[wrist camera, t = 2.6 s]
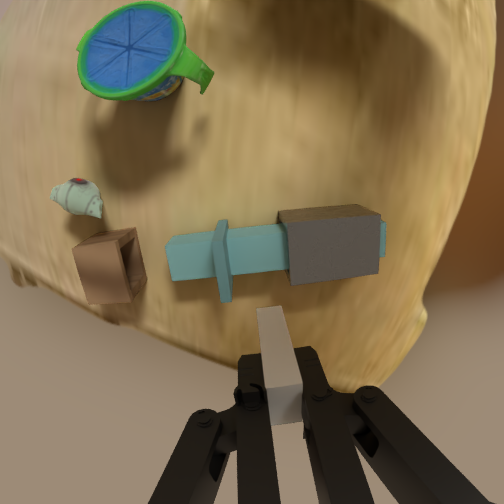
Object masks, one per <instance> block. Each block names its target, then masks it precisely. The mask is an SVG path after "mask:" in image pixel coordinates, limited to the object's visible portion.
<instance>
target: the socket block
mask: <svg viewBox="0 0 504 504" xmlns="http://www.w3.org/2000/svg"><path fill="white" fill-rule="evenodd" d="M72 252H73V256H74V259H75V263H76V266H77V270H78V273H79V277H80V280H81V283H82V286H83V289H84V292H85V295H86V298H87V301H88V304H89V305H90V304H111V303H129V302H132V300H133V299H134V297H135V296H136V294H137V293H138V292H139V290H140V289H141V287H142V286H143V284H144V283H145V282H146V280H147V276H146V272H145V268H144V263H143V259H142V255H141V250H140V246H139V241H138V236H137V231H136V227H134V228H127V229H121V230H115V231H109V232H103V233H97V234H95V235H93V236H92V237H90V238H88V239H87V240H85V241H83V242H82V243H80V244H78V245H77V246H75V247H74V248H72Z"/></svg>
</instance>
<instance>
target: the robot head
mask: <svg viewBox="0 0 504 504" xmlns="http://www.w3.org/2000/svg"><path fill="white" fill-rule="evenodd" d="M50 199H52V200H53V201H55V202H57V203H58V204H59V205H61V206H62V207H63V209H64V210H66V211H68V212H70V213H72V214H75V215H90V216H94V217H97V218H101V214H102V204H103V201H102V200H101V199H100V192H99V189H98V188H97V186H96V185H95V184H94V183H92V182H90V181H88V180H86V179H81V178H73V179H71V180H69V181H67V182H66V183H64V184H62V185H57V186H56V187H54V188H53V189H52V192H51V195H50Z"/></svg>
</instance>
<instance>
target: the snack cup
mask: <svg viewBox="0 0 504 504" xmlns="http://www.w3.org/2000/svg"><path fill="white" fill-rule="evenodd" d="M76 50H77V51H79V56H78V63H77V69H78V75H79V78H80V80H81V84H82V86H83V87H84V89H86V90H88V91H90V92H91V93H92V94H94V95H96V96H98V97H100V98H103V99H107V100H123V101H127V100H138V101H155V100H160V99H162V98H164V97H166V96H168V95H169V94H171V93H172V92H173V91H174V90H175V89H176V88H177V87H178V86H179V85H180V84H181V83H182V80H183V78H184V77H186V78H188V79H190V80H192V81H194V82H196V83H198V84H199V85H201V91H200V94H203V93H204V92H205V90H206V88H207V87H208V85H209V83H210V81H211V79H212V77H213V75H214V71H212V70H211V69H210V68H209V67H208V66H207V65H206V64H205V63H204V62H203V61H202V60H201V59H200V58H199V57H198V56H197V55H196V54H195V53H193V52H192V51H191V50H190V49H189V48H188V47H187V46H186V30H185V26H184V23H183V21H182V16H181V15H180V14H179V12H178V11H176V10H174V9H172V8H171V7H169V6H167V5H165V4H163V3H160V2H155V1H140V2H135V3H131V4H128V5H125V6H122V7H120V8H118V9H116V10H114V11H112V12H111V13H109V14H108V15H106V16H105V17H104V18H102V19H101V20H100V21H99V22H98V23H97V24H96V25H95V26H94V27H93V28H92V29H90V30H88V31H87V32H86V33H85V34H84V36H83V37H82V39H81V41H80V42H79V44H78V46H77V49H76Z"/></svg>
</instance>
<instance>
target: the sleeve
mask: <svg viewBox="0 0 504 504" xmlns="http://www.w3.org/2000/svg"><path fill="white" fill-rule="evenodd" d="M278 214H279V224H281V223H283V225H284V226H285V228H286V232H287V247H288V262H289V269H285V272H286V274H287V277H288V279H289V282H290V285H291V286H293V285H301V284H308V283H316V282H323V281H331V280H338V279H345V278H352V277H358V276H365V275H372V274H378V271H379V255H380V229H381V215H380V214H378V213H376V212H374V211H371V210H369V209H367V208H365V207H362V206H360V205H358V204H355V205H341V206H328V207H316V208H305V209H294V210H283V211H278Z"/></svg>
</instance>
